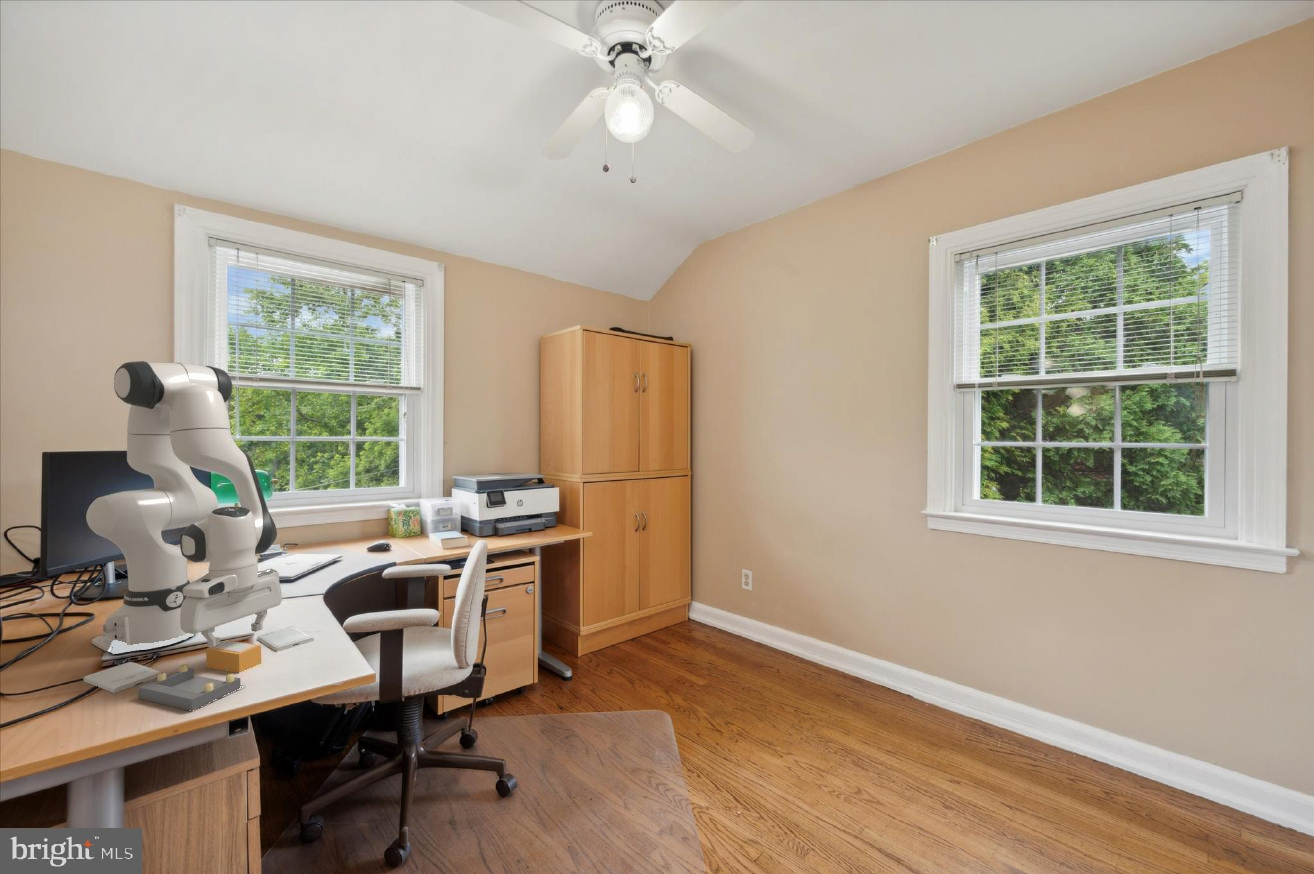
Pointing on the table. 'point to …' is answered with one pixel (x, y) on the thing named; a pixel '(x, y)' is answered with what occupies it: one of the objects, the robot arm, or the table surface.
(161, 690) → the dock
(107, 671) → the external hard drive
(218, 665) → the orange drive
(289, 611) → the table surface
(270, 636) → the hard drive
